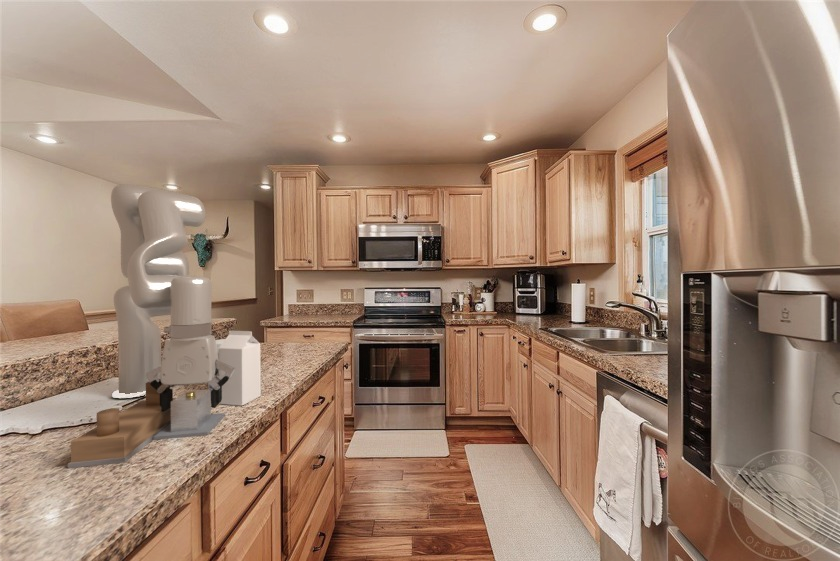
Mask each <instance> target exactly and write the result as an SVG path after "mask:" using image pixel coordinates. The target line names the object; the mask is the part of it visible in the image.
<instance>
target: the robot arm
mask: <svg viewBox="0 0 840 561" xmlns="http://www.w3.org/2000/svg"><path fill="white" fill-rule="evenodd" d="M110 201H111V202H110V203H111V209H112V212H113V215H114V218H115V220H116V223H117V224H118V227H119V231H120V269H121V272H122V275H123V276H124V277H125V278H126V279H127V282H128V285H126V286H125V285H124V286H123V287H120V288H118V289H117V290H116V291H115V292H114V295H113V305H114V310H115V315H116V321H117V335H118V336H117V337H118V340H117V341H118V346H117V348H118V349H117V350H118V351H117V352H118V356H117V357H118V389H119V393H125V394H130V393H137V392H143V391H146V383H147V382H150V385H151V386H152V387H153V388H155V389H156V390H157V393H159V394H160V406H161V411H162V412H164V411H166V410H168V409H169V408H170V407H171V401H173V398H174V395H173V392H174V391H173V389H172V388H171V387H172V386H187V385H202V384H208V383H209V384H210V385H211V386H212V387H213V390H212V391H211V409H213V408H216V407H217V406H219V404H220V402H221V400H222V386H223V385H224V384H225V383H226V382H227V381H228V380H229V379H230V377H231V376H232V374H233V372H234V370H235V368H234V367H232V366H230V365H227V364H225V363H223V362H220V361H219V358H218V350H217V344H216V340H217V339H216V338H215V335H212V282H211V279H209V278H208V277H206V276H195V275H190V263H189V260H188V257H187V255H186V254H185V253H184V252H183V251H182V250H184V249H185V248H186V247H187V246H188V242H189V239H188V235H187V232H186V228H185V227H193V228H199V227H201V226H202V225H203V224H204V222H205V221H206V214H207V213H206V208H205V206H204V203H203V202H202V201H201V200H200V199H199V198H198V197H196V196H194V195H193V196H192V195H190V194H186V193H181V192H177V191H173V190H172V191H171V190H166V189H161V188H155V187H150V186H147V185H146V186H145V185H139V184H131V183H125V184H117V185H116V186H114V187H113V189H111V194H110ZM159 316H170V324H169V325H168V326H165V327H164V328H163V333H164V334H168V335H169V337H170V338H167V339H165V342H164V346H163V350H162V332H161V328H160V327H159V326H158V325H157V324H156V323H155V322H154V321H153V320H152V319H151V318H153V317H159ZM219 369H220V370H222V371H225V375H224V377H223V378H222V379H220V378H219V377H218V374H219Z"/></svg>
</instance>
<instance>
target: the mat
mask: <svg viewBox="0 0 840 561" xmlns="http://www.w3.org/2000/svg"><path fill="white" fill-rule="evenodd" d="M225 416H226V413H225V412H222V413H221V412H220V413H211V417H210V418H209V419H208V420H207V421H206V422H205V423H204V424H203V425H202V426H201V427H200V428H199V429H198V430H191V431H181V432H171V423H170V424H169V425H168V426H166V427H165V428H164V429H163V430H162V431H160V432H159V433H158V434H157V435H155V436H154V437H153V440H154V441H157V440H166V439H167V440H168V439H176V438H177V439H178V438H186V437H198V436H207V435H209V434H210V433H211V432H212V431H213V429H214V428H215V427H216V426H217V425H218V424H219V423H220V422H221V421H222V420H223V418H225ZM153 440H152V441H153Z"/></svg>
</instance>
